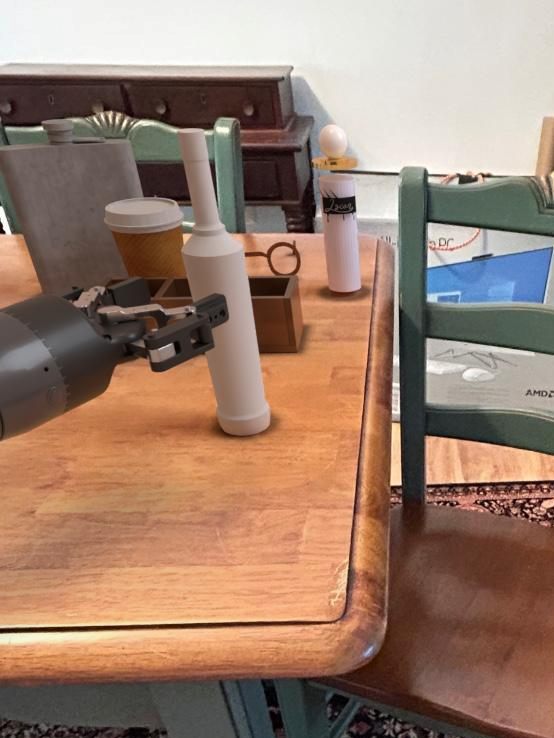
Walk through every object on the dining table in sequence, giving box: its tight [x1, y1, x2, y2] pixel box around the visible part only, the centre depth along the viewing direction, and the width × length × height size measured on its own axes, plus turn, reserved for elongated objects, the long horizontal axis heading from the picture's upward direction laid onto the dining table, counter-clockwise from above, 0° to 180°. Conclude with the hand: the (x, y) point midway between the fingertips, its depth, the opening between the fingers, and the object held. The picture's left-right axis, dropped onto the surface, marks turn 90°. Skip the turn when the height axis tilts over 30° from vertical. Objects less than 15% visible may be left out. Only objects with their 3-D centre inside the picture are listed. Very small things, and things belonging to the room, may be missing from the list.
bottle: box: [176, 127, 271, 437], centre depth 65 cm, size 5×5×25 cm
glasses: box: [244, 239, 302, 276], centre depth 109 cm, size 13×13×5 cm
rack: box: [99, 274, 305, 355], centre depth 87 cm, size 23×8×6 cm, turn 93°
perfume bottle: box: [311, 123, 362, 293], centre depth 97 cm, size 6×6×20 cm
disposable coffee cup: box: [104, 196, 187, 277], centre depth 95 cm, size 10×10×12 cm
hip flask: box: [0, 118, 145, 294], centre depth 97 cm, size 16×4×20 cm, turn 114°
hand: (184, 297), depth 61 cm, fingers open, 8 cm apart
